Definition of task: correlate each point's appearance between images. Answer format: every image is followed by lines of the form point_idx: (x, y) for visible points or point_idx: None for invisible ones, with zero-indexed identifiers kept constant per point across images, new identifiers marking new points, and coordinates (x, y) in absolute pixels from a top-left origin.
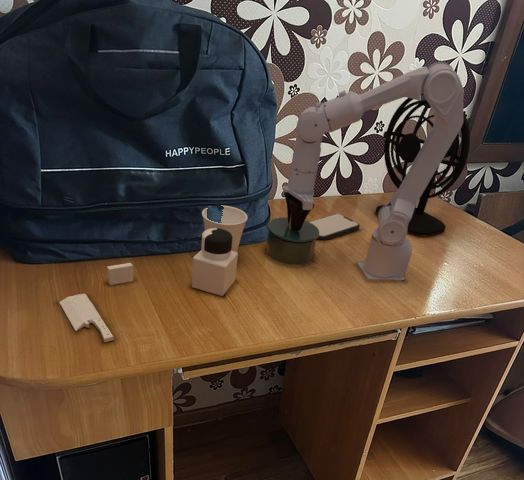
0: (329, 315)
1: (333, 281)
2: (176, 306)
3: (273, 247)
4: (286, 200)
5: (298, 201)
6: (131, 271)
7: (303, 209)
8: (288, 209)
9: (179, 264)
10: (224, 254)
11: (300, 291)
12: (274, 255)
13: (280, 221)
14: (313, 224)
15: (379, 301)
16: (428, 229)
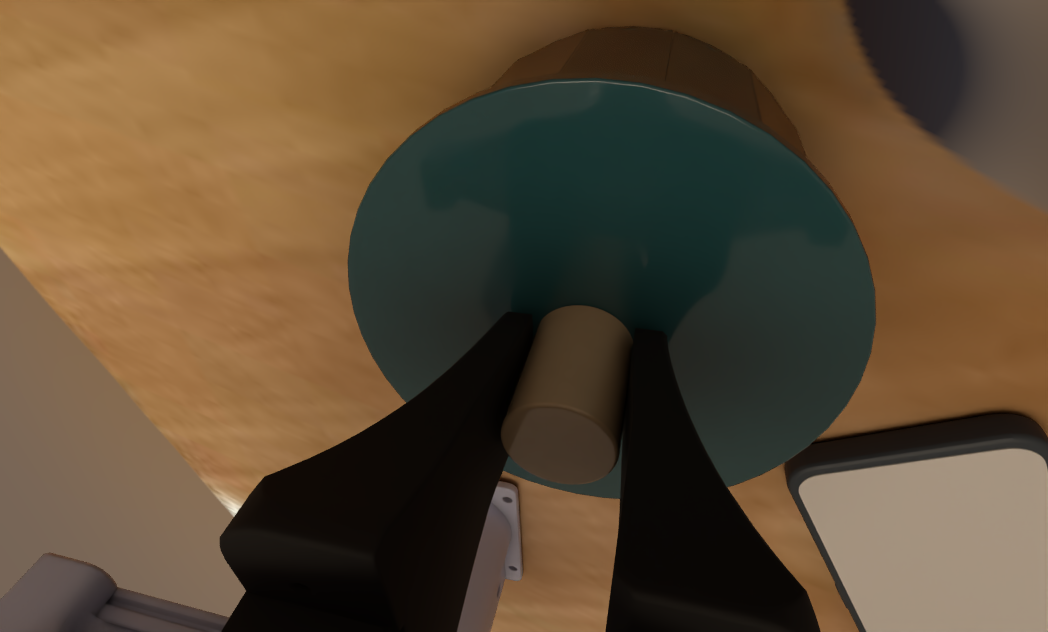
0: (44, 208)
1: (340, 334)
2: None
3: (509, 81)
4: (676, 522)
5: (318, 620)
6: None
7: (45, 555)
8: (630, 437)
9: None
10: None
11: (183, 138)
12: (502, 75)
13: (763, 278)
14: (997, 509)
15: (241, 422)
16: None
